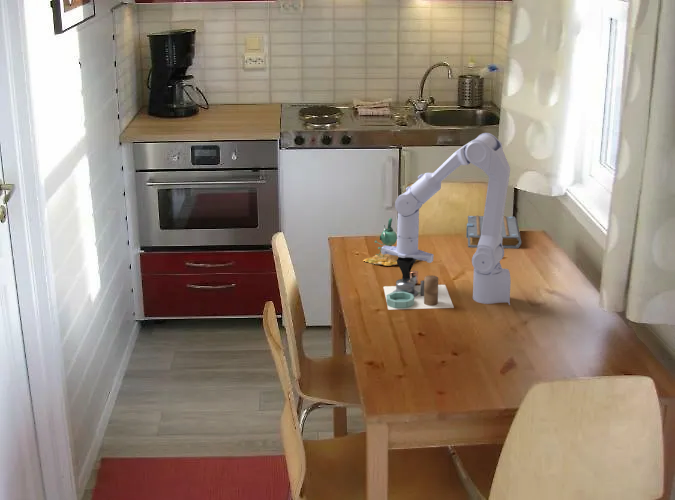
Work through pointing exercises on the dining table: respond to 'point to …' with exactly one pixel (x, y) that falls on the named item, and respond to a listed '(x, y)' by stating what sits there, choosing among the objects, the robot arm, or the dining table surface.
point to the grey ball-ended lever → (407, 283)
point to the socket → (400, 299)
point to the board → (443, 297)
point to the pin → (431, 290)
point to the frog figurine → (387, 239)
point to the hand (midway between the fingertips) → (406, 282)
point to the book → (508, 232)
